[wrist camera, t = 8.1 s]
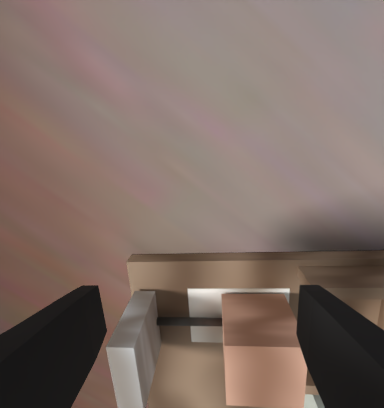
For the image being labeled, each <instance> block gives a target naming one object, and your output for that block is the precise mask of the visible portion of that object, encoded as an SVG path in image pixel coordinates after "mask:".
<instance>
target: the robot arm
mask: <svg viewBox="0 0 384 408" xmlns="http://www.w3.org/2000/svg"><path fill="white" fill-rule="evenodd" d="M106 332H107V329H106V324H105V319H104V313H103V308H102V303H101V298H100V293H99V288H98V286H81V287H79V288H77V289H75V290H73V291H72V292H70V293H68V294H66V295H65V296H63V297H61V298H60V299H58V300H57V301H55V302H53V303H52V304H50V305H49V306H47V307H45V308H44V309H42V310H40V311H39V312H37V313H36V314H34V315H32V316H31V317H29V318H27V319H26V320H24V321H23V322H21V323H19V324H18V325H16V326H14V327H13V328H11V329H9V330H7V331H6V332H4V333H2V334H1V335H0V408H71V406H72V404H73V402H74V401H75V399H76V397H77V395H78V393H79V391H80V389H81V387H82V385H83V384H84V382H85V380H86V378H87V376H88V374H89V372H90V370H91V368H92V366H93V364H94V362H95V360H96V358H97V355H98V353H99V350H100V348H101V345H102V343H103V340H104V337H105V335H106ZM296 335H297V338H298V341H299V344H300V348H301V351H302V354H303V357H304V360H305V363H306V366H307V368H308V370H309V373H310V375H311V377H312V380H313V382H314V384H315V386H316V389H317V391H318V393H319V395H320V398H321V400H322V402H323V404H324V407H325V408H384V330H383V329H381V328H380V327H379V326H377V325H376V324H374V323H373V322H371V321H370V320H368V319H367V318H366V317H364V316H363V315H361V314H360V313H358V312H357V311H356V310H354V309H353V308H351V307H350V306H349V305H347V304H346V303H344V302H343V301H341V300H340V299H339V298H337V297H336V296H334V295H333V294H332V293H330V292H329V291H327V290H326V289H324V288H323V287H321V286H320V285H300V287H299V301H298V316H297V330H296Z"/></svg>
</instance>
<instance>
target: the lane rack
mask: <svg viewBox="0 0 384 408" xmlns="http://www.w3.org/2000/svg"><path fill="white" fill-rule="evenodd" d="M126 263H127V270H128V276H129V283H130V289H131V296H132V295H133V293H134V291H155V295H156V303H157V311H158V317H210V318H222V297H221V294H284V295H285V297H286V299H287V301H288V303H289V306H290V308H291V310H292V312H293V314H294V316H295V318H296V321H297V316H298V301H299V287H300V285H320V286H321V287H323V288H324V289H326V290H327V291H329V292H330V293H332V294H333V295H334V296H336V297H337V298H339V299H340V300H341V301H343V302H344V303H346V304H347V305H349V306H350V307H351V308H353V309H354V310H356V311H357V312H358V313H360V314H361V315H363V316H364V317H366V318H367V319H368V320H370V321H371V322H373V323H374V324H376V325H377V326H379V327H380V328H381V329H383V330H384V250H375V251H316V252H257V253H198V254H139V255H131V256H130V258H129V259H128V261H127V262H126ZM159 328H160V336H161V348H160V352H159V356H158V360H157V364H156V368H155V372H154V376H153V380H152V384H151V388H150V392H149V396H148V407H149V408H274V407H252V406H231V405H226V389H225V370H224V351H223V327H220V326H159ZM305 394H310V395H319V393H318V391H317V389H316V386H315V384H314V382H313V380H312V377H311V375H310V373H309V370H308V368H307V377H306V388H305Z"/></svg>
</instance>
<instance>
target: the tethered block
mask: <svg viewBox="0 0 384 408" xmlns="http://www.w3.org/2000/svg"><path fill="white" fill-rule="evenodd" d="M221 297H222V318H210V317H158V311H157V303H156V295H155V291H134V293H133V295H132V297H131V299H130V301H129V303H128V305H127V307H126V309H125V311H124V313H123V315H122V317H121V319H120V321H119V323H118V325H117V326H116V328H115V330H114V332H113V334H112V336H111V338H110V340H109V342H108V344H107V346H106V351H107V356H108V361H109V366H110V370H111V375H112V380H113V385H114V390H115V395H116V400H117V405H118V408H146V404H147V400H148V396H149V392H150V388H151V384H152V380H153V376H154V372H155V368H156V364H157V360H158V356H159V352H160V348H161V336H160V328H159V326H220V327H223V351H224V370H225V389H226V405H231V406H252V407H274V408H304V400H305V388H306V377H307V366H306V363H305V360H304V357H303V354H302V351H301V348H300V344H299V341H298V338H297V335H296V330H297V321H296V318H295V316H294V314H293V312H292V310H291V308H290V306H289V303H288V301H287V299H286V297H285V295H284V294H221Z"/></svg>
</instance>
